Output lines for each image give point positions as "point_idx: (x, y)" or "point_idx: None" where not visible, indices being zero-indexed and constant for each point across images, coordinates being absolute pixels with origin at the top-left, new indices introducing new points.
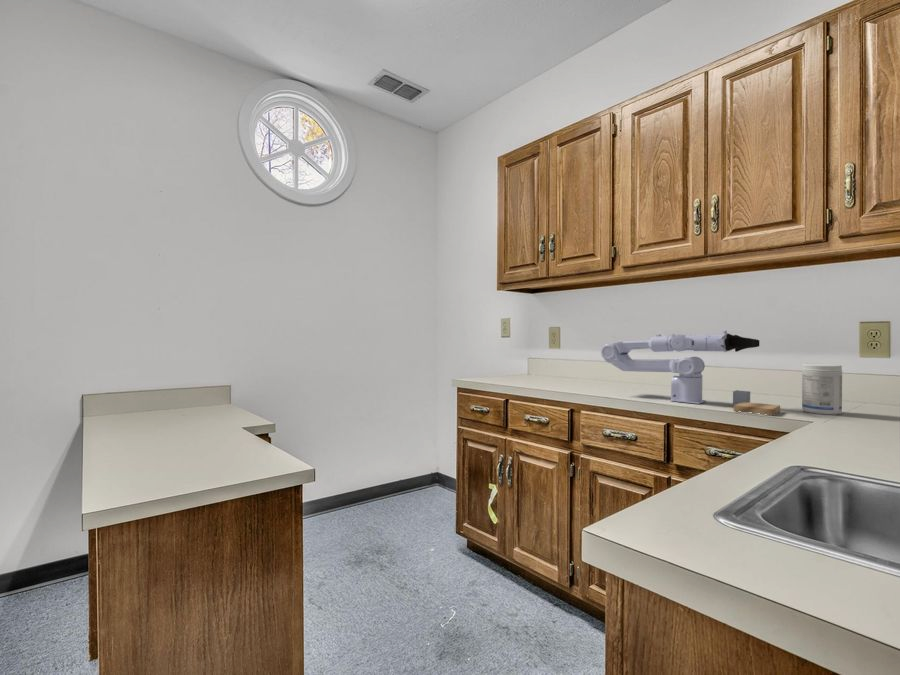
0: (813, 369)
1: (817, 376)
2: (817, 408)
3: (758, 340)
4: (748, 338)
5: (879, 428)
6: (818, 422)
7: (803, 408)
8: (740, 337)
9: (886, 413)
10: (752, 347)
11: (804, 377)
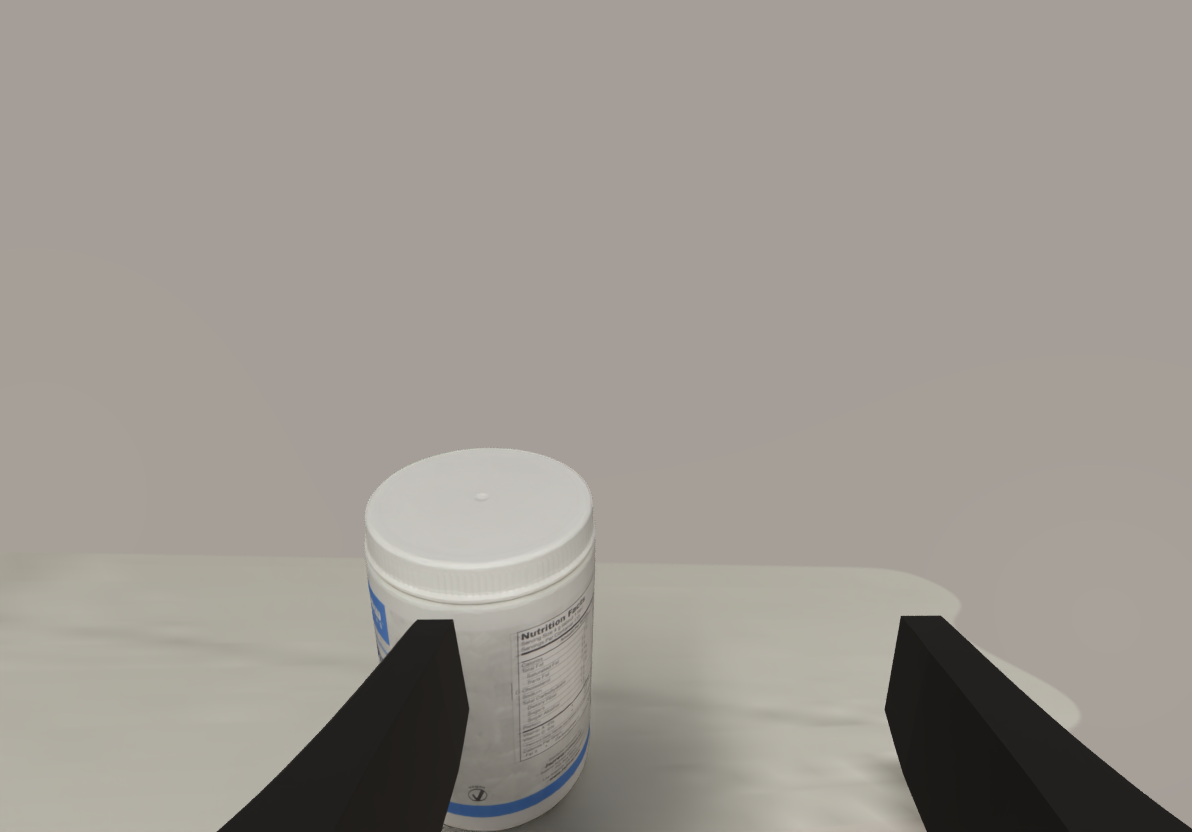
0: (583, 548)
1: (592, 574)
2: (588, 736)
3: (453, 630)
4: (992, 665)
5: (804, 588)
6: (888, 741)
7: (529, 815)
8: (1128, 788)
9: (356, 569)
10: (432, 825)
11: (539, 641)
